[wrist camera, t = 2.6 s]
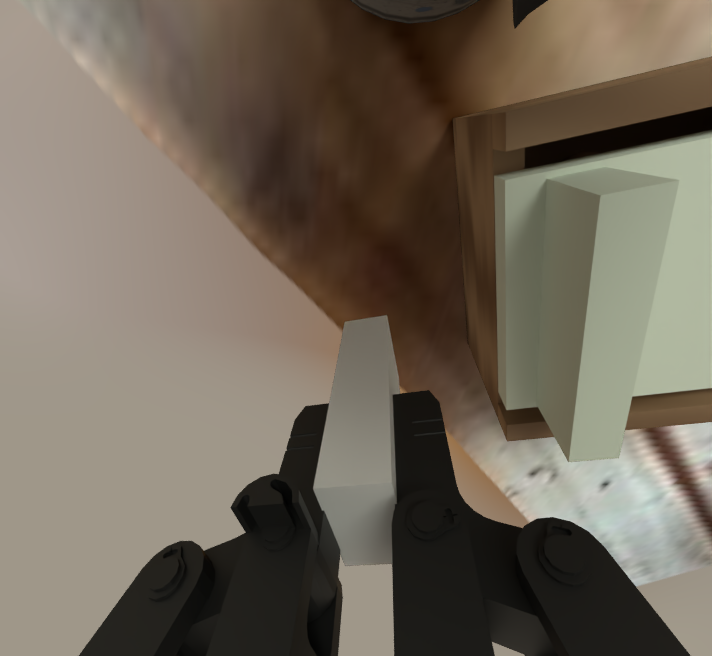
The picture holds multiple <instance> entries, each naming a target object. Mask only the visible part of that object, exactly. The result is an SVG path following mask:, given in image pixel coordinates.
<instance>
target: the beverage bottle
mask: <svg viewBox="0 0 712 656" xmlns="http://www.w3.org/2000/svg"><path fill="white" fill-rule="evenodd" d="M351 1H352V2H353V3H355V4H356V5H357V6H358V7H360V8H361V9H363V10H365V11H367V12H369V13H372V14H374V15H376V16H378V17H381V18H383V19H385V20H391V21H398V22H404V23H420V22H431V21H436V20H439V19H442V18H445V17H448V16H451V15H454V14H457V13H459V12H461V11H463V10H464V9H466V8H468V7H469V6H471V5H473V4H474V3H476V2H478V1H479V0H351ZM546 1H548V0H513V21H514V28H516V27H517V26H518V25H519V24H520V23H521V21H522V20H523V19H524V18H525V17H526V16H527V15H528V14H529V13H530V12H532V11H533V10H535V9H536V8H538V7H539V6H540V5H542V4H543V3H545V2H546Z"/></svg>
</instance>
